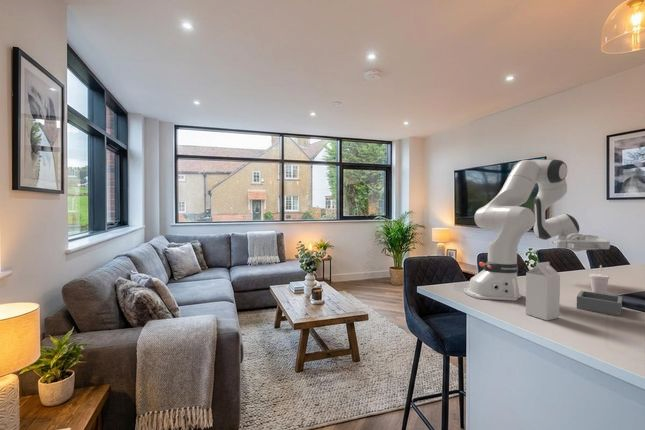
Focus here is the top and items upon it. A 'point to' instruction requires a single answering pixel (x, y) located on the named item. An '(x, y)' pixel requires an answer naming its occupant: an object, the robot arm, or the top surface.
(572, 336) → the top surface
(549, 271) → the milk carton
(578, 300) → the bin
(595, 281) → the smoothie
